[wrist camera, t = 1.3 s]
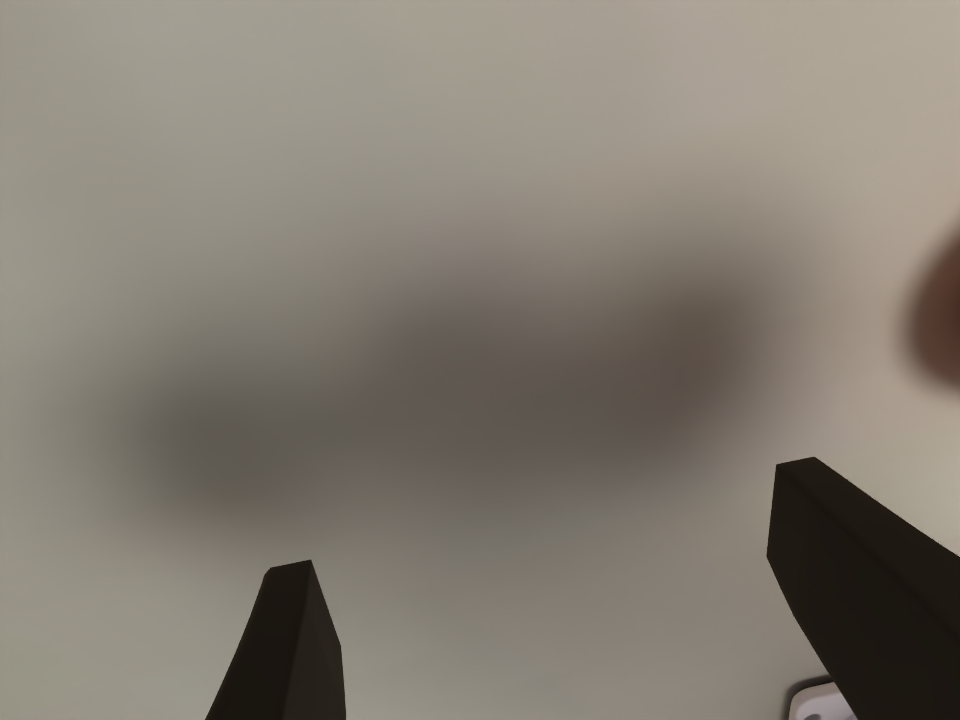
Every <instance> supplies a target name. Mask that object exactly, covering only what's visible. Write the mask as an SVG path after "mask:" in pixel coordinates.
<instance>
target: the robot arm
mask: <svg viewBox="0 0 960 720" xmlns="http://www.w3.org/2000/svg"><path fill="white" fill-rule="evenodd" d="M767 559H768V561H769V563H770V565H771V568H772V570H773V572H774V574H775V577H776V579H777V581H778V583H779V586H780V588H781V590H782V592H783V594H784V596H785V598H786V601H787V603H788V605H789V607H790V609H791V611H792V613H793V615H794V617H795V619H796V620H797V622H798V624H799V625H800V627H801V629H802V631H803V632H804V634H805V635H806V637H807V639H808V640H809V642H810V644H811V645H812V647H813V648H814V650H815V652H816V653H817V655H818V657H819V658H820V660H821V662H822V663H823V665H824V666H825V668H826V670H827V671H828V673H829V674H830V676H831V678H832V679H833V681H834V682H832V683H827V684H823V685H818V686H814V687H809V688H806V689H803V690H801V691H800V692H798V693H797V694H796V695H795V696H794V697H793V699H792V702H791V707H790V713H789V720H960V557H959V556H957V555H956V554H954V553H953V552H951V551H949V550H948V549H946V548H945V547H943V546H942V545H940V544H939V543H937V542H936V541H934V540H933V539H931V538H930V537H928V536H927V535H925V534H924V533H922V532H921V531H919V530H918V529H916V528H915V527H913V526H912V525H911V524H909V523H908V522H906V521H905V520H903V519H902V518H900V517H899V516H897V515H896V514H895V513H893V512H892V511H890V510H889V509H887V508H886V507H885V506H883V505H882V504H880V503H879V502H878V501H876V500H875V499H873V498H872V497H870V496H869V495H868V494H866V493H865V492H863V491H862V490H861V489H859V488H858V487H856V486H855V485H854V484H852V483H851V482H849V481H848V480H847V479H845V478H844V477H842V476H841V475H840V474H838V473H837V472H835V471H834V470H833V469H831V468H830V467H828V466H827V465H826V464H824V463H823V462H821V461H820V460H818V459H817V458H816V457H810V458H805V459H800V460H795V461H790V462H786V463H781V464H776V471H775V481H774V490H773V500H772V509H771V518H770V528H769V537H768V547H767ZM205 720H346V706H345V692H344V678H343V666H342V654H341V645H340V642H339V639H338V636H337V634H336V631H335V628H334V625H333V622H332V619H331V616H330V613H329V610H328V607H327V605H326V602H325V599H324V596H323V593H322V590H321V587H320V584H319V581H318V578H317V576H316V573H315V570H314V567H313V564H312V561H311V560H306V561H301V562H296V563H291V564H287V565H282V566H277V567H272V568H270V569H269V570H268V571H267V572H266V574H265V575H264V578H263V581H262V584H261V587H260V590H259V593H258V596H257V599H256V601H255V604H254V607H253V610H252V612H251V615H250V618H249V620H248V623H247V625H246V628H245V630H244V633H243V635H242V638H241V640H240V643H239V645H238V648H237V650H236V653H235V655H234V657H233V659H232V662H231V664H230V666H229V668H228V671H227V673H226V675H225V677H224V680H223V682H222V684H221V686H220V689H219V691H218V693H217V695H216V698H215V700H214V702H213V704H212V706H211V708H210V711H209V713H208V715H207V717H206V719H205Z"/></svg>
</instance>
